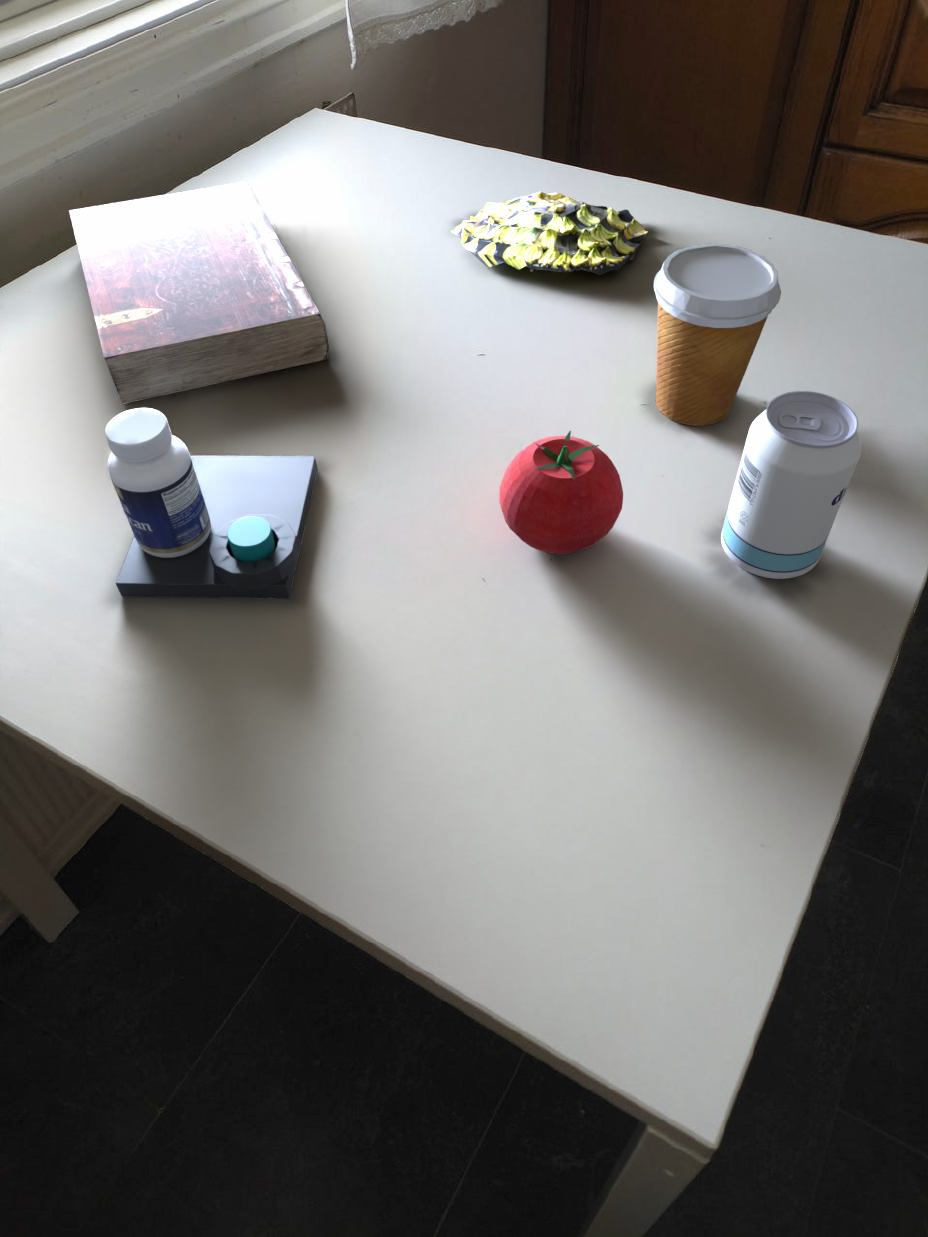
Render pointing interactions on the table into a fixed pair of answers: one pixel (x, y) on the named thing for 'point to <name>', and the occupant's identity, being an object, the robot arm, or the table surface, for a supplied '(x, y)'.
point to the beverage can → (790, 484)
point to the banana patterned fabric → (552, 234)
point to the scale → (229, 496)
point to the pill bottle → (156, 484)
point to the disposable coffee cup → (709, 327)
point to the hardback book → (193, 291)
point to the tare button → (251, 539)
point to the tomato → (561, 494)
